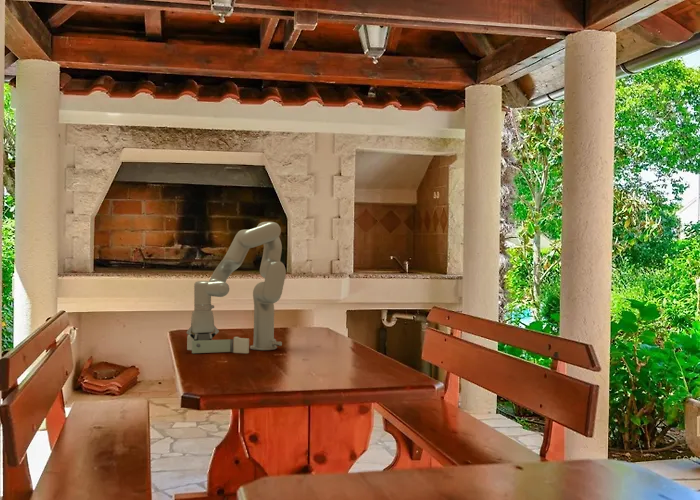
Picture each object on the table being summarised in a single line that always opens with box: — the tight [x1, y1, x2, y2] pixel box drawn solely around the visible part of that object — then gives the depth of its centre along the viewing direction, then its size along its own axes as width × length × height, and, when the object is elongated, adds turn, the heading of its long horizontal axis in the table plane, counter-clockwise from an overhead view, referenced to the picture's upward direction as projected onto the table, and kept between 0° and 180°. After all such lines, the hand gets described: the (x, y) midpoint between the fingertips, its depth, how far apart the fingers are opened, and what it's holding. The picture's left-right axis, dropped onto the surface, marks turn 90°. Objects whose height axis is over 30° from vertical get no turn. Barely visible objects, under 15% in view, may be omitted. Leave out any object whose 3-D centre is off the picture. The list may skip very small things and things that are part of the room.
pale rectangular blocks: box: [186, 335, 250, 354], centre depth 347 cm, size 30×3×7 cm, turn 77°
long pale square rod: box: [191, 338, 234, 354], centre depth 342 cm, size 19×2×6 cm, turn 113°
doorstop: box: [197, 333, 210, 340], centre depth 344 cm, size 5×7×8 cm
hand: (202, 347), depth 344 cm, fingers closed on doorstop, 5 cm apart
